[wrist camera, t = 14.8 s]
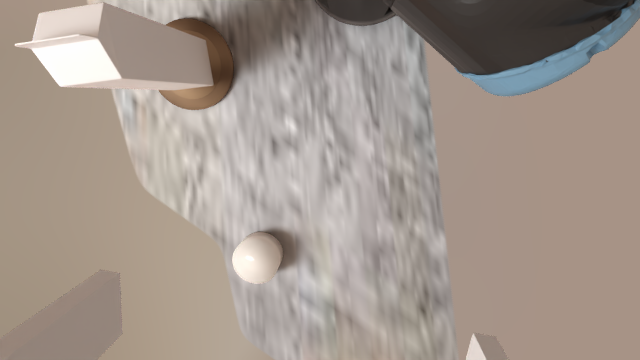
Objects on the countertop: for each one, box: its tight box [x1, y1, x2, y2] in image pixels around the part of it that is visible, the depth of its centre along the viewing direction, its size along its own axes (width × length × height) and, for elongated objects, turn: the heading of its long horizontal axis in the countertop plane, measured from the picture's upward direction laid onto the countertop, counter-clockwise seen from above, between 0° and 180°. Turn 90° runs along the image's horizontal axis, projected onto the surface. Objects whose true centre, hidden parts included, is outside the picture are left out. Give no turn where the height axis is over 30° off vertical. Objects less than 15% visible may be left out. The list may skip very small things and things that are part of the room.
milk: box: [15, 2, 214, 90], centre depth 35 cm, size 6×6×22 cm
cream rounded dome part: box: [232, 232, 283, 284], centre depth 51 cm, size 7×7×4 cm
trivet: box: [159, 19, 234, 110], centre depth 46 cm, size 12×12×1 cm
